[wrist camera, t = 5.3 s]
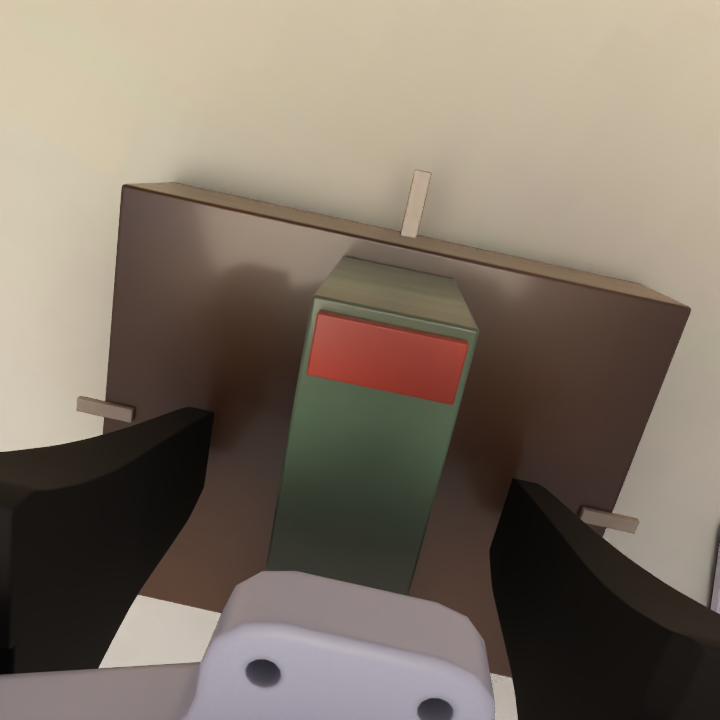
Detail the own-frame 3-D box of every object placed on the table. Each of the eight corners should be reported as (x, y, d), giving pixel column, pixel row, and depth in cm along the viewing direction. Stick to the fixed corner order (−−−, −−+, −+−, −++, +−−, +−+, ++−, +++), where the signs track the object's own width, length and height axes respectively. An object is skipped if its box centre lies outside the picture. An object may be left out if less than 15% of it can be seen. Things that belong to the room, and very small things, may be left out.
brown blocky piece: (686, 229, 15) (754, 242, 12) (528, 652, 20) (550, 738, 17) (154, 114, 16) (94, 100, 12) (114, 561, 20) (63, 630, 17)
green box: (368, 632, 16) (353, 809, 12) (275, 613, 16) (226, 781, 12) (455, 279, 13) (482, 334, 9) (342, 255, 13) (309, 297, 9)
